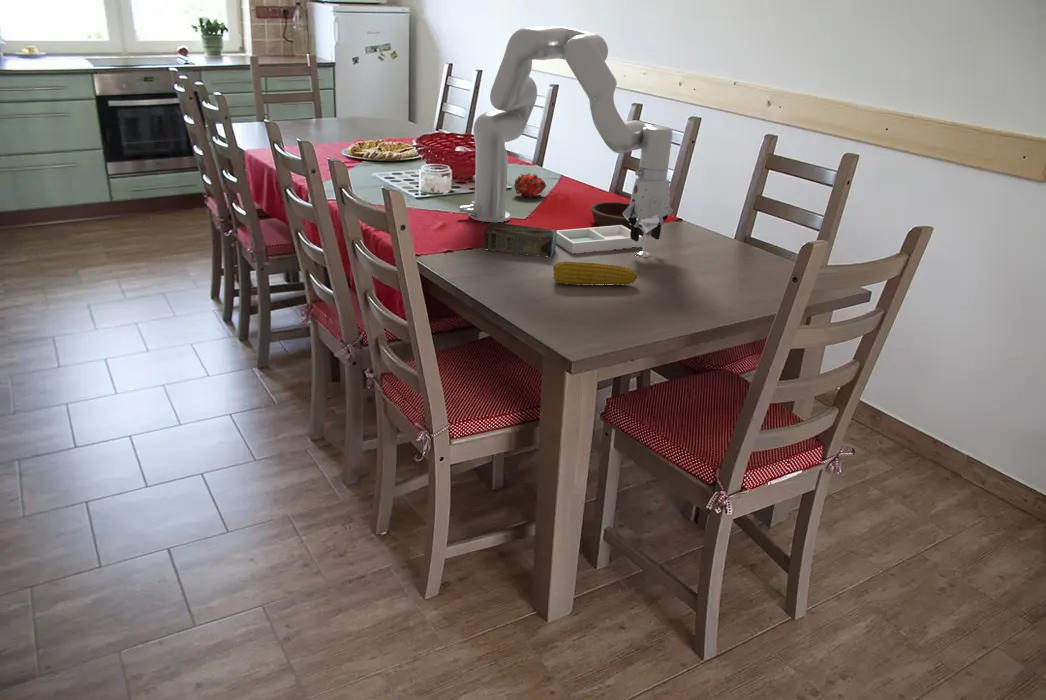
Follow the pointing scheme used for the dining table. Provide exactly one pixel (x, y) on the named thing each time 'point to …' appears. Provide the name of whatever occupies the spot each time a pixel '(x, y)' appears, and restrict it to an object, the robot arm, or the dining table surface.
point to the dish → (610, 214)
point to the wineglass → (647, 228)
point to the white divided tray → (596, 239)
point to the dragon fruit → (529, 185)
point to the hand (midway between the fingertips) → (644, 238)
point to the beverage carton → (520, 239)
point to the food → (592, 273)
